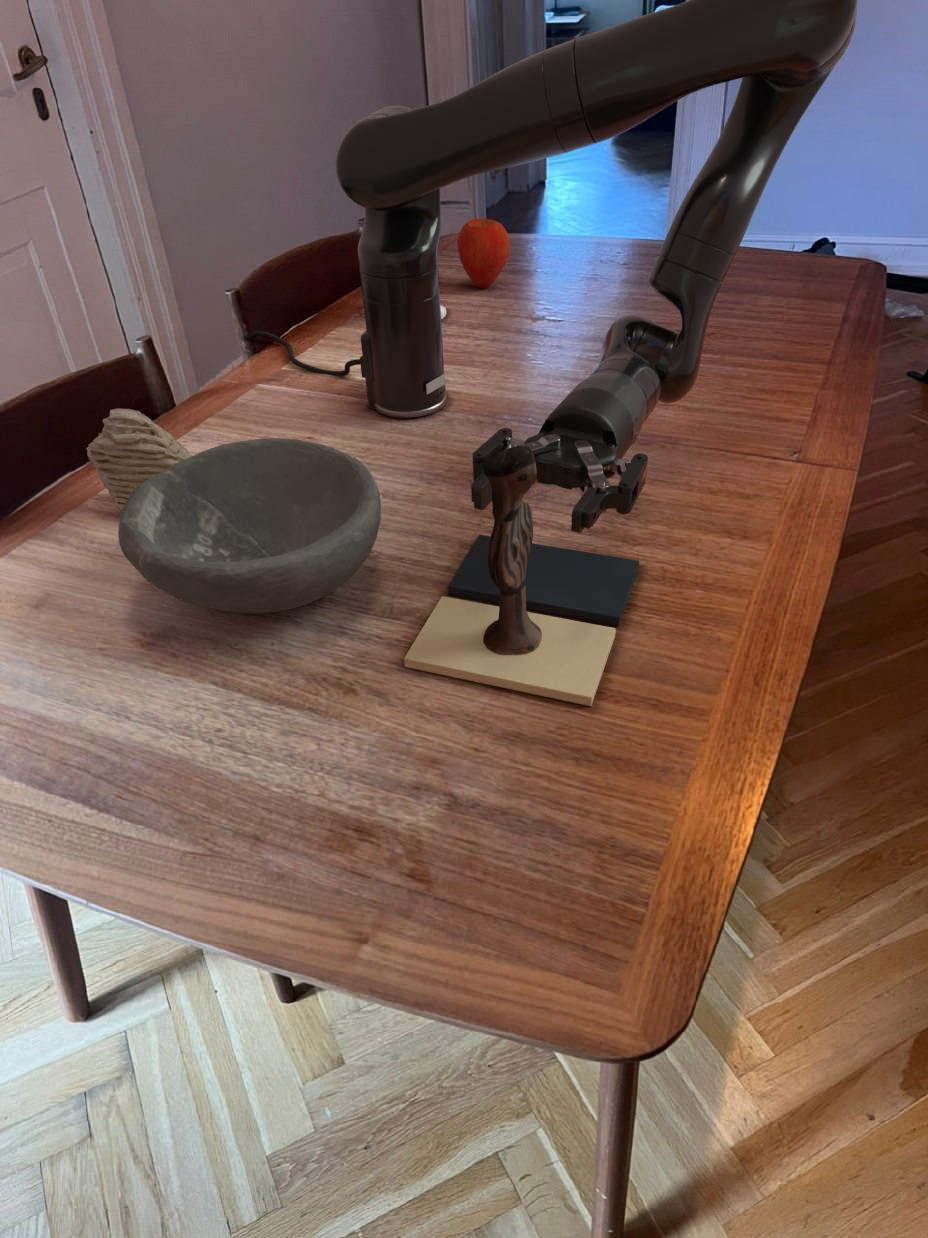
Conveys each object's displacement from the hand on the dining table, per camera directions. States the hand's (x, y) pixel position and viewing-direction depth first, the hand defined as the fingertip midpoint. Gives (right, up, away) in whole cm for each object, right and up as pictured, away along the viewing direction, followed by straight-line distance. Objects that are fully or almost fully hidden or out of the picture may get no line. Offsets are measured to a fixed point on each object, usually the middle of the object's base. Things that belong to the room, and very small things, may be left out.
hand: (525, 511), depth 70 cm
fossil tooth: (-37, +3, +26) cm, 46 cm away
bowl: (-23, -5, +14) cm, 28 cm away
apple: (-1, +47, +78) cm, 91 cm away
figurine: (-1, -11, +5) cm, 12 cm away
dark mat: (+3, -5, +13) cm, 14 cm away
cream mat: (-1, -11, +5) cm, 13 cm away
